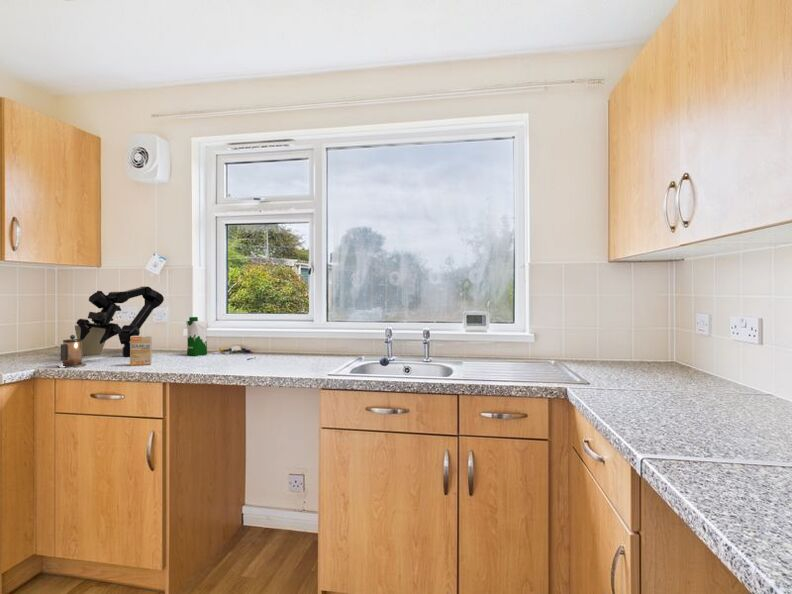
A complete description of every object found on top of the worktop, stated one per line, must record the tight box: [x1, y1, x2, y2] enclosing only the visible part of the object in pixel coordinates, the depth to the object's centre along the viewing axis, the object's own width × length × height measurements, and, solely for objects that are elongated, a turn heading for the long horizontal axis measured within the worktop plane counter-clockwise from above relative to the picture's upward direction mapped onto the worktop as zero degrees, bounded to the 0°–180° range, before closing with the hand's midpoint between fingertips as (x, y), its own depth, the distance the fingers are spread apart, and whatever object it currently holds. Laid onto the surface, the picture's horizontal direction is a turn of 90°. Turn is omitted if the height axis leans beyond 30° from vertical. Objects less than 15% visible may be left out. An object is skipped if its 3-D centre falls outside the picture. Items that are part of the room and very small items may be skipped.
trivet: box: [65, 362, 87, 368], centre depth 192 cm, size 10×10×1 cm
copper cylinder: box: [60, 334, 83, 366], centre depth 192 cm, size 8×7×13 cm
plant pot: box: [74, 324, 106, 356], centre depth 230 cm, size 15×15×16 cm
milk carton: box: [185, 316, 209, 357], centre depth 228 cm, size 9×9×20 cm
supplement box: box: [129, 335, 153, 367], centre depth 196 cm, size 8×5×13 cm, turn 115°
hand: (90, 342), depth 203 cm, fingers open, 9 cm apart
